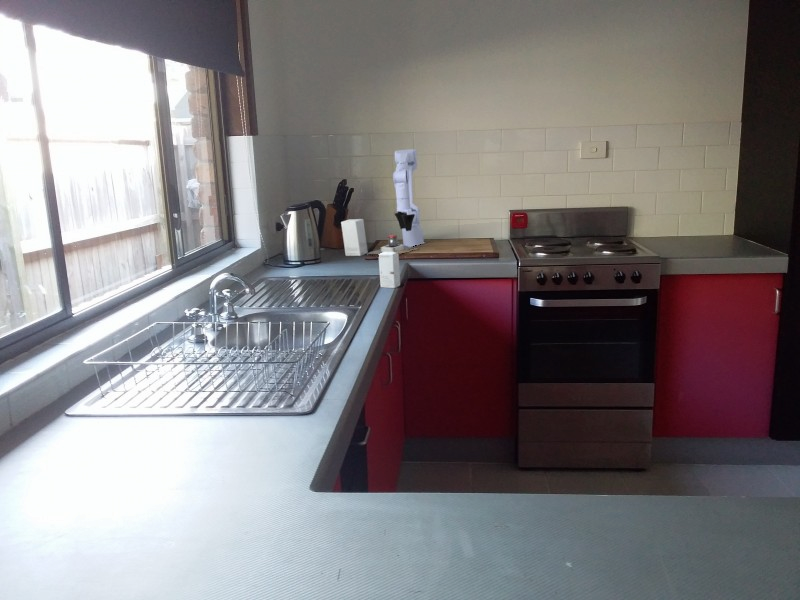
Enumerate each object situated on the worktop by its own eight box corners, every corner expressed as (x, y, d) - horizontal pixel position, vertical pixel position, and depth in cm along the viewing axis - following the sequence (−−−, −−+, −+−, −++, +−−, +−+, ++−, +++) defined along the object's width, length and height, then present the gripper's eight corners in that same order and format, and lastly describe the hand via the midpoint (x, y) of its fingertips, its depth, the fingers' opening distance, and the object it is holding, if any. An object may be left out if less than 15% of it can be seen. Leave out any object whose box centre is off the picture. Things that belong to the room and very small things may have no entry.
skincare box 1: (368, 253, 311) (364, 218, 307) (359, 256, 305) (356, 221, 301) (352, 253, 315) (349, 218, 311) (344, 256, 310) (340, 221, 306)
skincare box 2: (380, 287, 246) (376, 253, 242) (386, 284, 249) (383, 251, 246) (395, 288, 242) (392, 254, 239) (401, 285, 246) (398, 251, 243)
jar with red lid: (388, 249, 308) (387, 235, 306) (397, 249, 308) (396, 234, 306) (389, 251, 304) (388, 236, 302) (398, 250, 304) (397, 236, 302)
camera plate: (394, 247, 318) (394, 240, 318) (418, 249, 309) (417, 242, 308) (367, 255, 306) (366, 248, 305) (391, 257, 296) (390, 250, 296)
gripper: (417, 198, 294) (420, 230, 298) (406, 196, 308) (408, 226, 311) (401, 200, 292) (404, 232, 296) (391, 197, 306) (393, 228, 309)
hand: (405, 229), depth 303 cm, fingers open, 7 cm apart
